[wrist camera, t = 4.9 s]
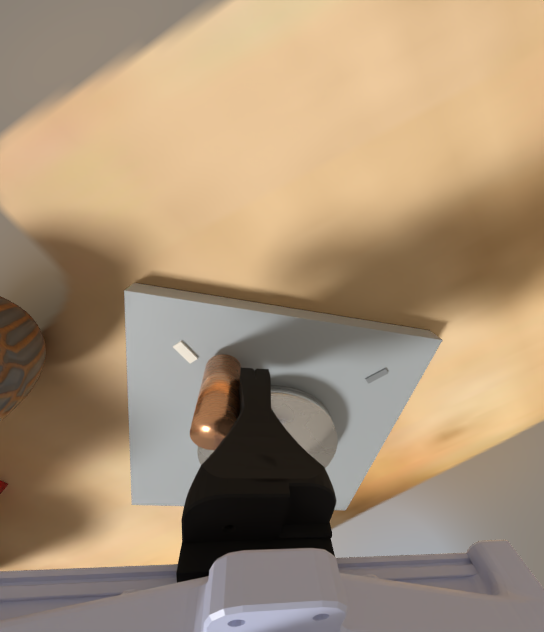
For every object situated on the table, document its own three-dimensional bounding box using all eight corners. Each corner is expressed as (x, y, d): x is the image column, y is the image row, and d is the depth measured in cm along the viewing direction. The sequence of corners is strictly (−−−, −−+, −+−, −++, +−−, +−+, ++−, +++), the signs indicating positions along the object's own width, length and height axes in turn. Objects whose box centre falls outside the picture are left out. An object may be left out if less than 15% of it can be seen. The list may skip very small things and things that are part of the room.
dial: (347, 453, 19) (374, 524, 15) (236, 491, 20) (234, 568, 16) (290, 323, 14) (308, 378, 10) (144, 382, 15) (104, 455, 10)
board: (341, 496, 24) (346, 511, 23) (137, 488, 21) (131, 506, 20) (429, 330, 16) (443, 341, 15) (134, 282, 14) (123, 291, 12)
